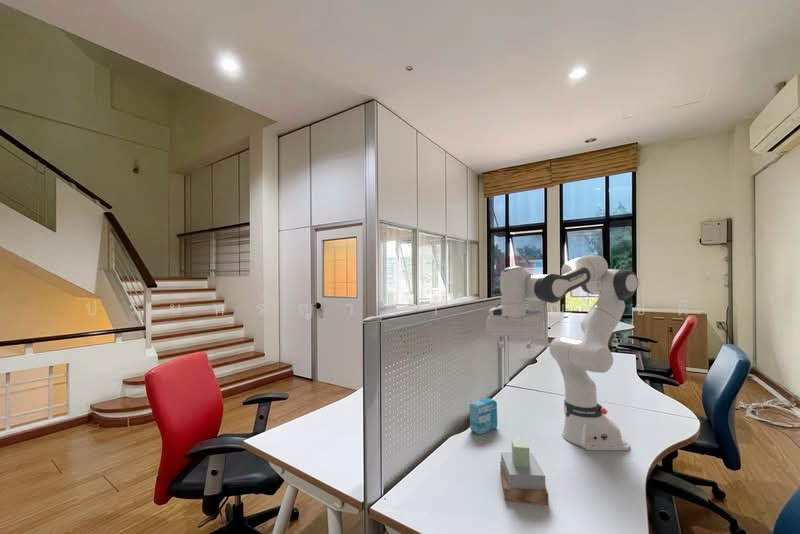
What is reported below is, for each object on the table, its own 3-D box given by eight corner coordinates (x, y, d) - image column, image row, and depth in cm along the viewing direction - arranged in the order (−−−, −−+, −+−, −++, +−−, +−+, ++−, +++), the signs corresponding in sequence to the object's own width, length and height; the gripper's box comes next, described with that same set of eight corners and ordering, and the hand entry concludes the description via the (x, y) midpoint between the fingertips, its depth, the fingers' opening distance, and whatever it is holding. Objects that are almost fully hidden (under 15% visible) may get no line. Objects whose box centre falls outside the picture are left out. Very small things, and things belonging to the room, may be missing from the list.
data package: (477, 435, 133) (476, 406, 134) (469, 431, 137) (469, 402, 137) (497, 427, 140) (496, 399, 140) (489, 424, 143) (488, 396, 144)
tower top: (532, 465, 106) (532, 452, 106) (545, 489, 94) (545, 475, 94) (501, 464, 107) (501, 452, 107) (510, 488, 95) (509, 474, 95)
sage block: (527, 459, 103) (526, 440, 103) (530, 468, 98) (529, 447, 98) (512, 458, 103) (511, 439, 104) (514, 466, 99) (513, 446, 99)
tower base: (538, 477, 106) (538, 464, 106) (548, 507, 93) (548, 493, 93) (500, 473, 109) (500, 461, 109) (504, 502, 95) (504, 488, 95)
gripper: (542, 309, 120) (543, 346, 119) (485, 309, 125) (486, 345, 124) (545, 311, 114) (547, 350, 113) (485, 311, 119) (486, 349, 118)
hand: (514, 347), depth 119 cm, fingers open, 8 cm apart
